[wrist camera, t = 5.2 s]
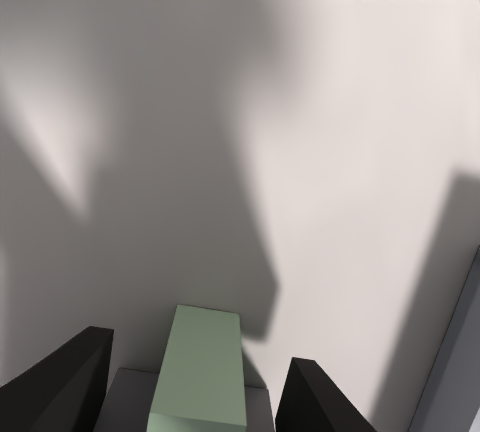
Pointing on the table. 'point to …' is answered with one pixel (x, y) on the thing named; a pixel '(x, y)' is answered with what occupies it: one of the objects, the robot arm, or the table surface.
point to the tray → (455, 369)
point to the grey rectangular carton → (190, 383)
